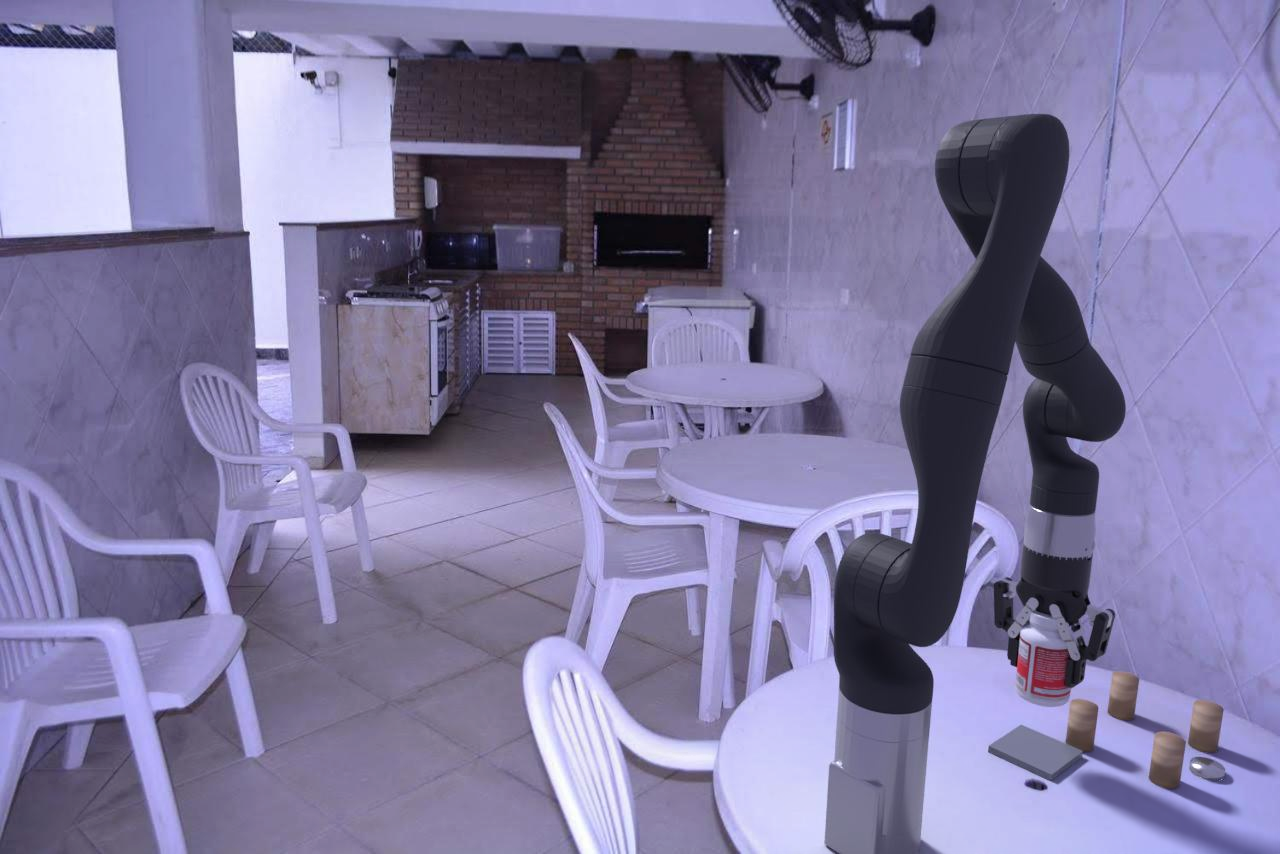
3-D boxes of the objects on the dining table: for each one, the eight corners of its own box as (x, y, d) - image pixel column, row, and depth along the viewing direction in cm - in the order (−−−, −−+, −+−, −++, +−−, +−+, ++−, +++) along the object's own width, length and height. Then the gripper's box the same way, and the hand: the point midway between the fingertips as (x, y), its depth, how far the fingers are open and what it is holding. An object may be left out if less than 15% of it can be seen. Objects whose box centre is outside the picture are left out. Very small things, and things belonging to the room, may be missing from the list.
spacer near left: (1173, 792, 106) (1179, 749, 105) (1144, 779, 109) (1150, 737, 108) (1184, 782, 108) (1190, 739, 107) (1155, 770, 111) (1161, 728, 110)
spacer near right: (1086, 754, 114) (1091, 714, 113) (1060, 743, 116) (1065, 704, 115) (1098, 746, 116) (1103, 706, 115) (1072, 735, 118) (1077, 696, 117)
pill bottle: (1079, 700, 111) (1089, 614, 109) (1049, 714, 108) (1059, 626, 106) (1033, 679, 116) (1042, 597, 114) (1003, 692, 113) (1012, 608, 111)
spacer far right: (1128, 723, 121) (1133, 684, 120) (1103, 713, 124) (1108, 675, 123) (1138, 715, 123) (1143, 677, 122) (1113, 705, 126) (1118, 668, 125)
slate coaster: (1050, 780, 108) (1051, 774, 108) (988, 751, 114) (988, 745, 114) (1082, 756, 113) (1082, 751, 113) (1020, 730, 119) (1021, 724, 119)
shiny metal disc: (1217, 786, 108) (1218, 777, 108) (1184, 772, 111) (1185, 763, 110) (1228, 775, 110) (1229, 766, 110) (1195, 762, 113) (1196, 753, 113)
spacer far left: (1211, 756, 114) (1218, 715, 113) (1183, 745, 116) (1189, 705, 115) (1221, 747, 116) (1227, 707, 115) (1193, 736, 118) (1199, 697, 117)
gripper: (984, 535, 111) (973, 662, 115) (1106, 568, 100) (1089, 708, 104) (1016, 522, 116) (1004, 646, 119) (1135, 553, 105) (1118, 687, 109)
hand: (1043, 674), depth 112 cm, fingers closed on pill bottle, 6 cm apart
